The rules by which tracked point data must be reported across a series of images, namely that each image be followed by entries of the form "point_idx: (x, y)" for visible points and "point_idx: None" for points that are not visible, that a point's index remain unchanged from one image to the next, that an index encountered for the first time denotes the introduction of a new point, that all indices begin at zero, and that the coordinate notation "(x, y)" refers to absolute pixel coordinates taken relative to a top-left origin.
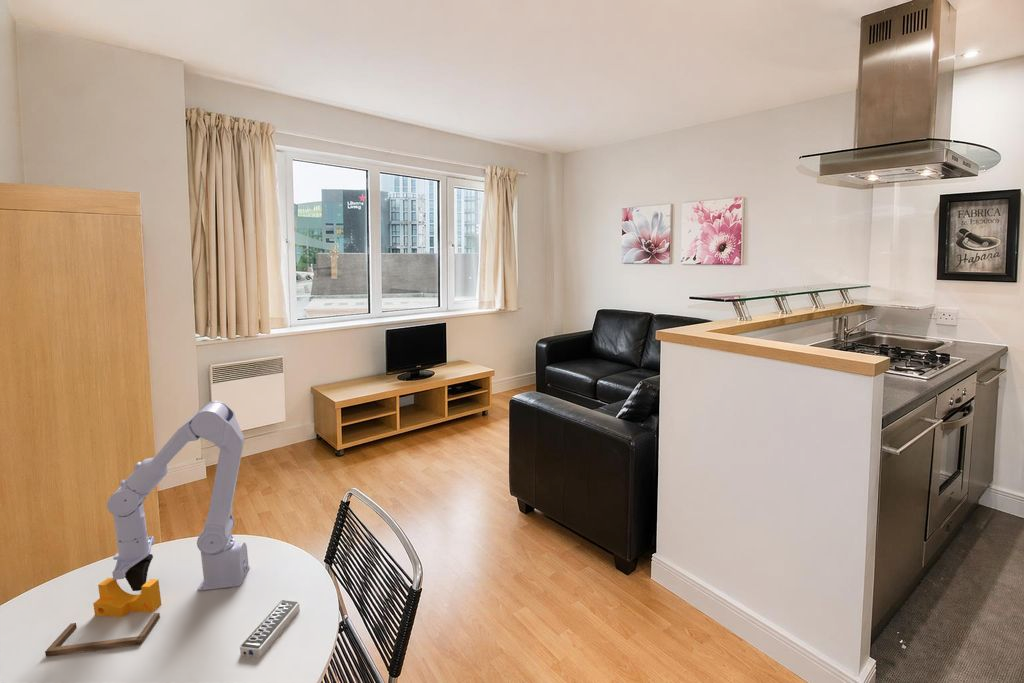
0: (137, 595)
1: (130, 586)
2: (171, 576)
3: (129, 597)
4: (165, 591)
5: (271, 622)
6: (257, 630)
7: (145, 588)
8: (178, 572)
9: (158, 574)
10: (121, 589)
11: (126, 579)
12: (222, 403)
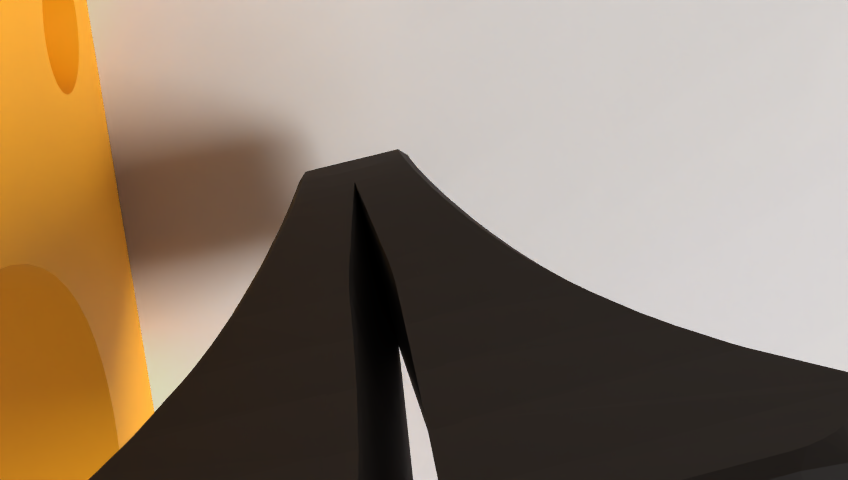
0: (90, 452)
1: (290, 209)
2: (726, 306)
3: (13, 379)
4: (411, 432)
5: None
6: None
7: None
8: (797, 327)
9: (832, 112)
10: (22, 273)
11: (207, 350)
12: None
